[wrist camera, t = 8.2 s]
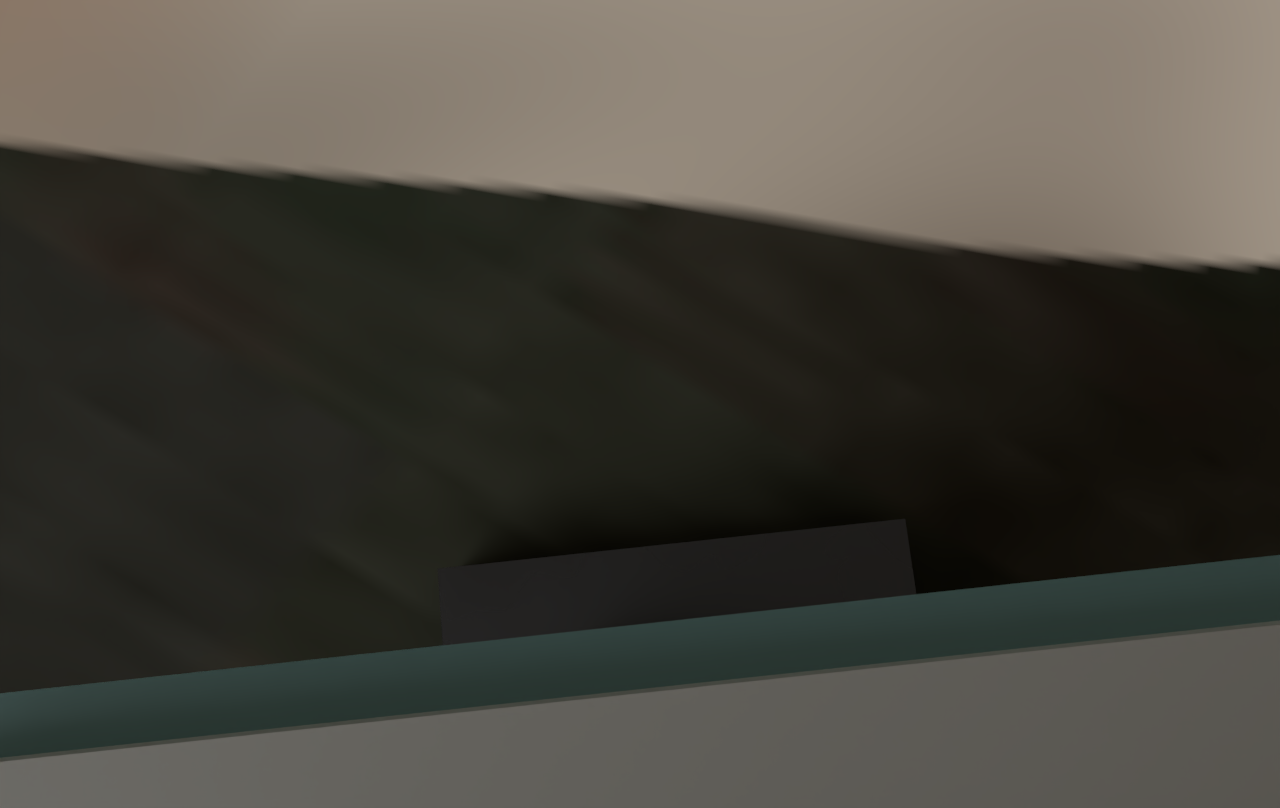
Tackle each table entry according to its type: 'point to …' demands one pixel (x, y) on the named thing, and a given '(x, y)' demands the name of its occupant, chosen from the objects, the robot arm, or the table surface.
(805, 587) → the chassis
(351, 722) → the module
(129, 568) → the table surface
